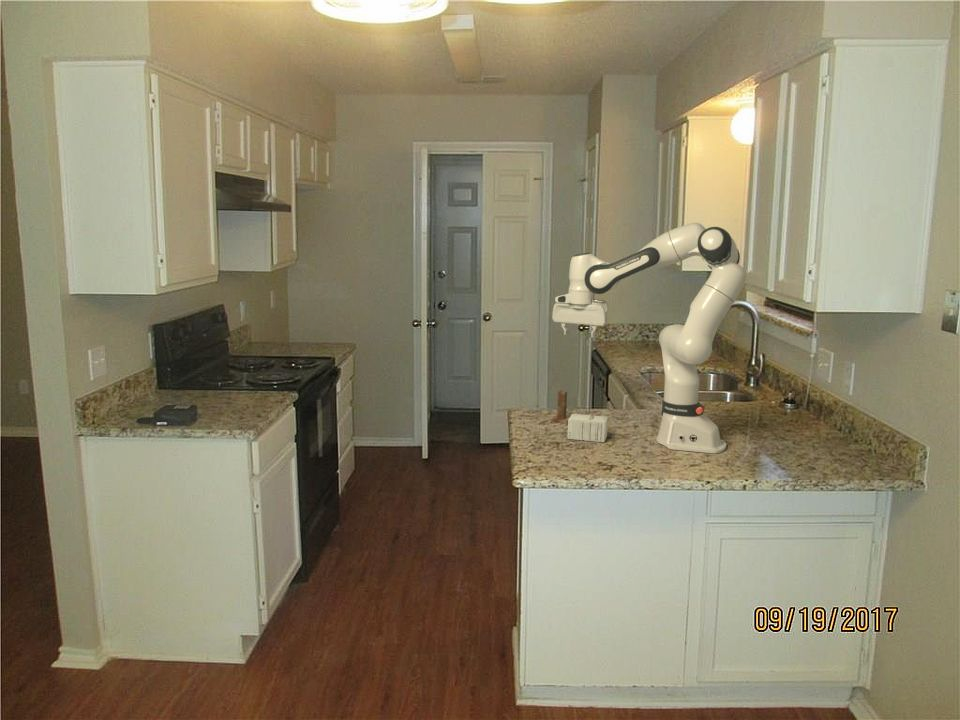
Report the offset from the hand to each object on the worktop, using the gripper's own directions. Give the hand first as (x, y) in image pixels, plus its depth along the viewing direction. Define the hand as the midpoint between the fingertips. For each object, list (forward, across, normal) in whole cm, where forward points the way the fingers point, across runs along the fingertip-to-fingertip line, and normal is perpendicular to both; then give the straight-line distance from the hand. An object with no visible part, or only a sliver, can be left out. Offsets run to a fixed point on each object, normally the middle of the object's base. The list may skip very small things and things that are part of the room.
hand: (579, 336), depth 272 cm
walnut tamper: (+31, +3, +6) cm, 32 cm away
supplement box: (+27, -6, +22) cm, 36 cm away
